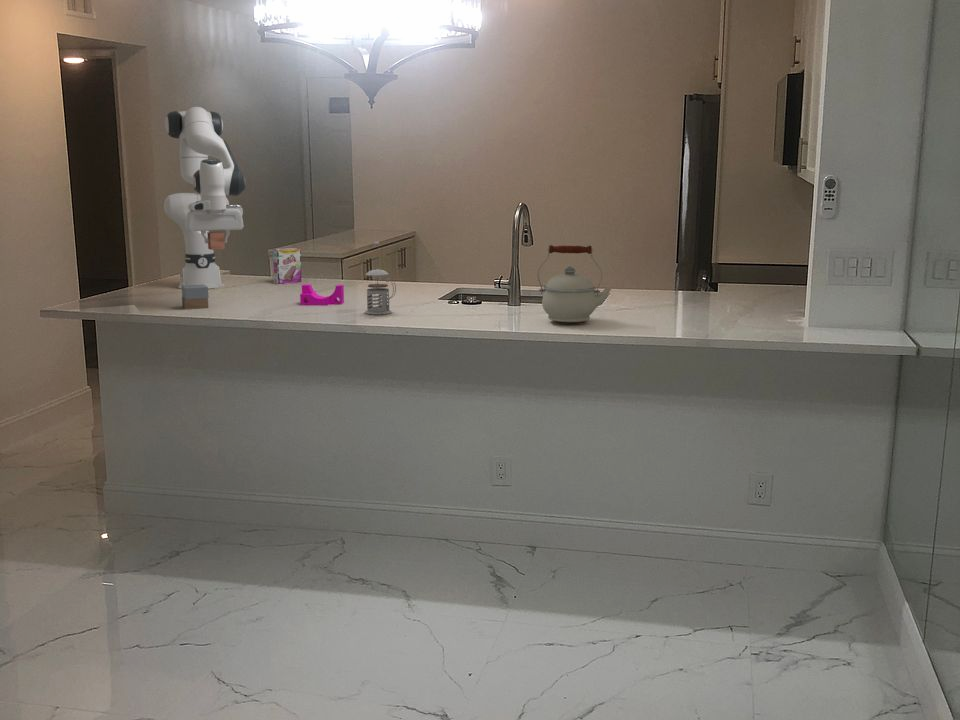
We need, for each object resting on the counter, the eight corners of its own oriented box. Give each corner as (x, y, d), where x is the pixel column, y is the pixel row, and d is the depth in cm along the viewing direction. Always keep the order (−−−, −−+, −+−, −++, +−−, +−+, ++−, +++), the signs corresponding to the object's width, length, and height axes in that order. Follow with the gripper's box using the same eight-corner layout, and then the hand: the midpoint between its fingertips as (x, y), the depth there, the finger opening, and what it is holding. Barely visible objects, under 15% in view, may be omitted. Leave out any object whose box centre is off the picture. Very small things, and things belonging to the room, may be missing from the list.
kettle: (534, 322, 312) (535, 247, 307) (539, 314, 330) (540, 242, 325) (610, 324, 308) (612, 248, 303) (611, 315, 326) (613, 243, 321)
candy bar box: (279, 288, 397) (277, 249, 394) (273, 287, 401) (271, 249, 397) (302, 286, 404) (301, 248, 401) (296, 285, 408) (295, 247, 404)
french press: (372, 309, 340) (370, 240, 335) (401, 311, 336) (400, 241, 331) (359, 313, 331) (357, 242, 326) (389, 315, 327) (387, 243, 322)
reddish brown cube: (208, 248, 346) (207, 232, 345) (222, 248, 348) (221, 231, 347) (210, 249, 342) (209, 233, 341) (224, 249, 344) (223, 232, 343)
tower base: (182, 307, 347) (181, 296, 346) (204, 305, 350) (204, 295, 350) (185, 310, 340) (185, 299, 339) (208, 308, 343) (207, 297, 343)
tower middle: (182, 296, 346) (181, 285, 345) (204, 295, 350) (203, 284, 349) (185, 299, 339) (185, 288, 338) (208, 297, 343) (207, 287, 342)
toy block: (300, 306, 349) (299, 286, 348) (305, 303, 355) (304, 284, 354) (340, 306, 348) (339, 286, 346) (344, 304, 354) (343, 284, 352)
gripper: (240, 204, 349) (242, 241, 352) (183, 205, 340) (186, 243, 343) (244, 204, 344) (246, 242, 346) (186, 205, 335) (189, 244, 337)
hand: (216, 243), depth 345 cm, fingers closed on reddish brown cube, 5 cm apart
